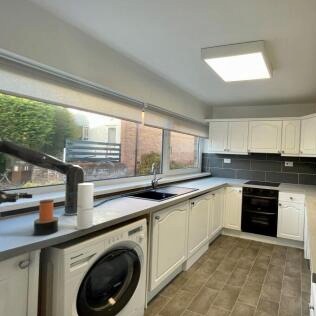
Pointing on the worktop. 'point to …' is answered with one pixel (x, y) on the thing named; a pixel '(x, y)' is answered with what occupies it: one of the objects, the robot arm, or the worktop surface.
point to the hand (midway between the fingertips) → (24, 198)
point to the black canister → (45, 227)
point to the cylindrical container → (85, 205)
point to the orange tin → (46, 210)
